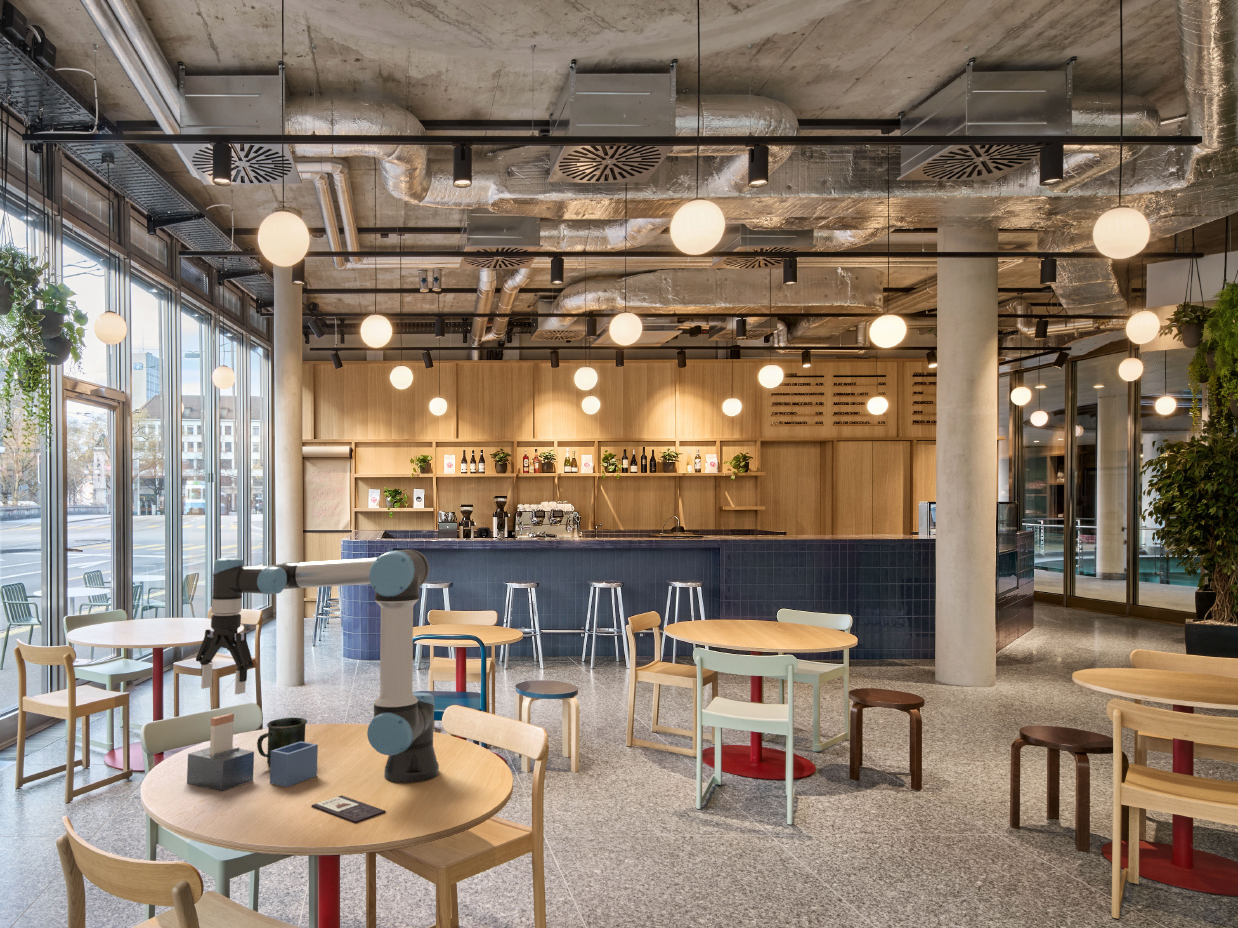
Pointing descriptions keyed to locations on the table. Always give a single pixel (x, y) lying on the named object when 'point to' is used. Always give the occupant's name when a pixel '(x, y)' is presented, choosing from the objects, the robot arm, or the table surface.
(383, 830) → the table surface
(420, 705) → the robot arm
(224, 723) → the ticket
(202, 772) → the dispenser
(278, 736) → the mug
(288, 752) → the blue open box
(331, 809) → the chocolate bar
